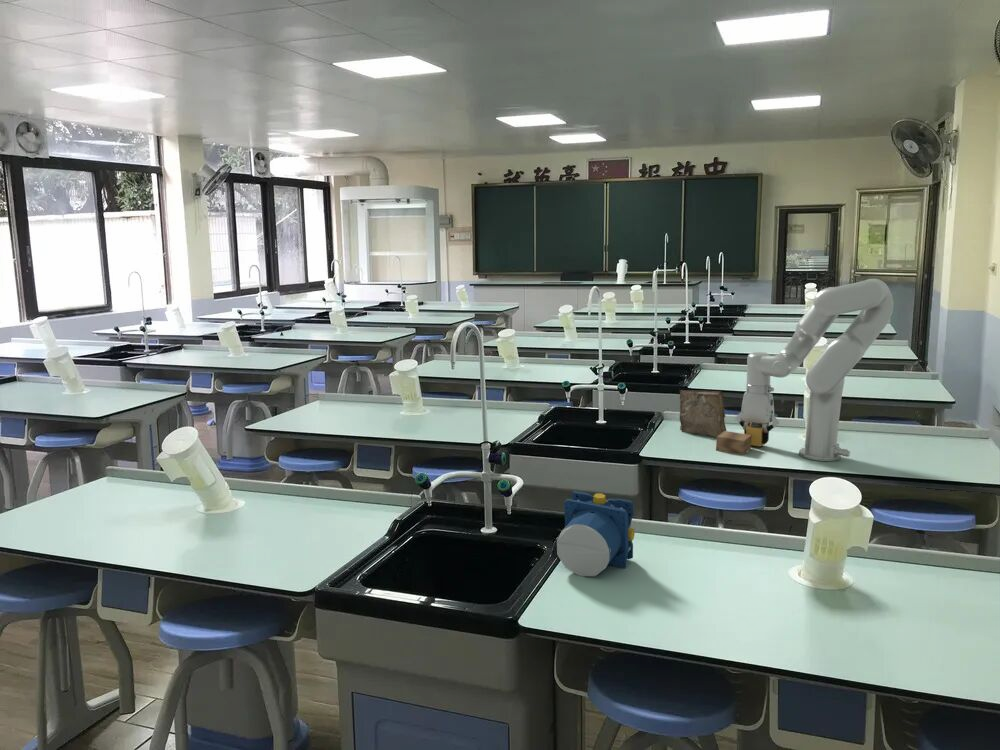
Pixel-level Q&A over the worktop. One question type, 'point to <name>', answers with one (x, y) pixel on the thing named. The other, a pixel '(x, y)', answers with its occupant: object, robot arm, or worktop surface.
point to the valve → (595, 533)
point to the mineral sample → (702, 412)
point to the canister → (755, 433)
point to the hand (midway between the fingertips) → (756, 441)
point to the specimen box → (733, 442)
